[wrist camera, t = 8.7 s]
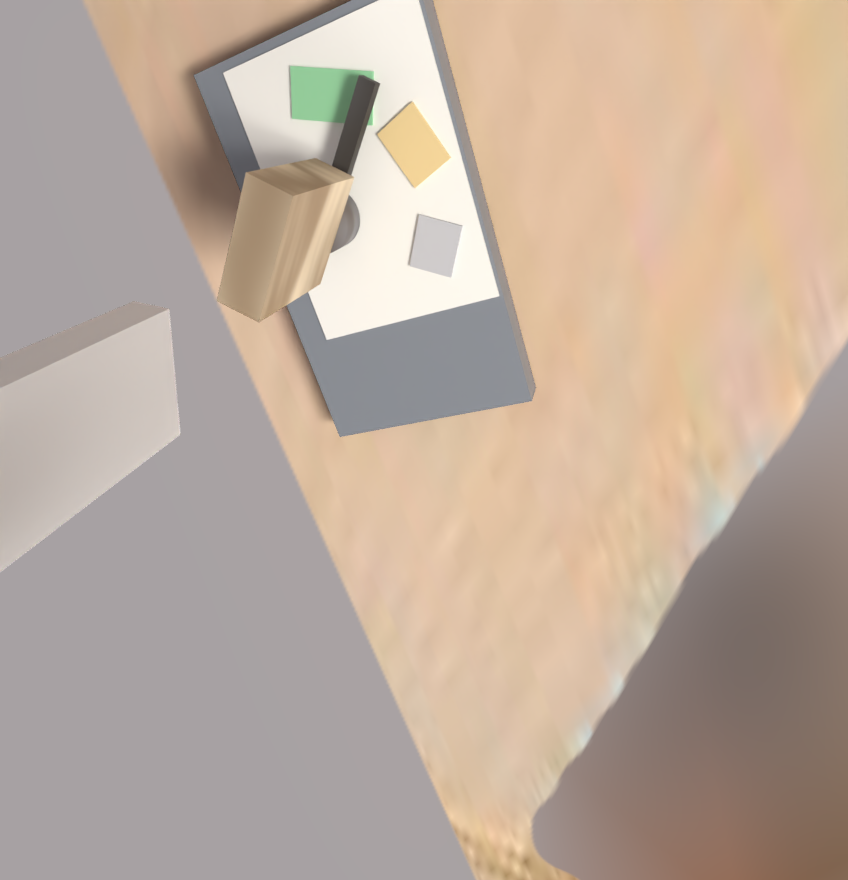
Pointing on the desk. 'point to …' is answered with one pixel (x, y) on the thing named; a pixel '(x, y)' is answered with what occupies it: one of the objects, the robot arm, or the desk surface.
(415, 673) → the desk surface
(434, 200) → the board
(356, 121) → the wooden block with bar
